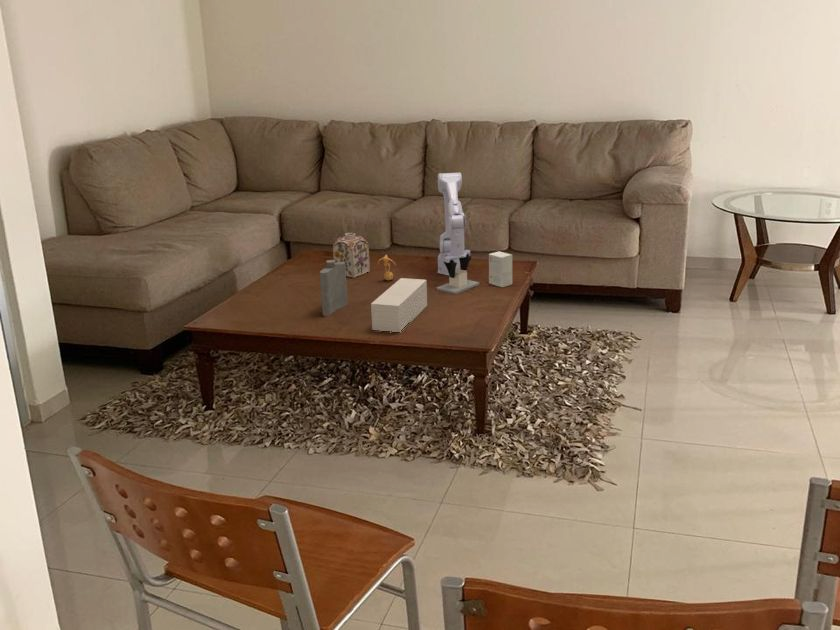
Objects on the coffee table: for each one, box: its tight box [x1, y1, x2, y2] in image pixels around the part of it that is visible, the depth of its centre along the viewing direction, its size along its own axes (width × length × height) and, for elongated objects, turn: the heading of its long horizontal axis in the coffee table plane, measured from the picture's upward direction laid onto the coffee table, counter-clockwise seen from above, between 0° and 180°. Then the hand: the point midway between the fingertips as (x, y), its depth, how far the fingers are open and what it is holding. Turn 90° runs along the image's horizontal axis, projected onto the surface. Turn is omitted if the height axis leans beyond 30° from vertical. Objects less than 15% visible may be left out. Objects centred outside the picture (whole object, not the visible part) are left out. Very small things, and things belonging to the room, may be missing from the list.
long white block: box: [370, 277, 428, 333], centre depth 335 cm, size 32×11×11 cm, turn 161°
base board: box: [436, 279, 480, 295], centre depth 370 cm, size 10×16×1 cm, turn 138°
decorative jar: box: [332, 232, 371, 279], centre depth 391 cm, size 12×12×18 cm
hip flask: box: [319, 259, 349, 316], centre depth 345 cm, size 16×4×20 cm, turn 154°
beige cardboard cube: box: [448, 268, 468, 288], centre depth 369 cm, size 5×5×6 cm
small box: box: [488, 250, 513, 288], centre depth 370 cm, size 8×6×13 cm
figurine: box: [377, 254, 397, 281], centre depth 379 cm, size 8×6×12 cm
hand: (457, 275), depth 368 cm, fingers open, 7 cm apart
